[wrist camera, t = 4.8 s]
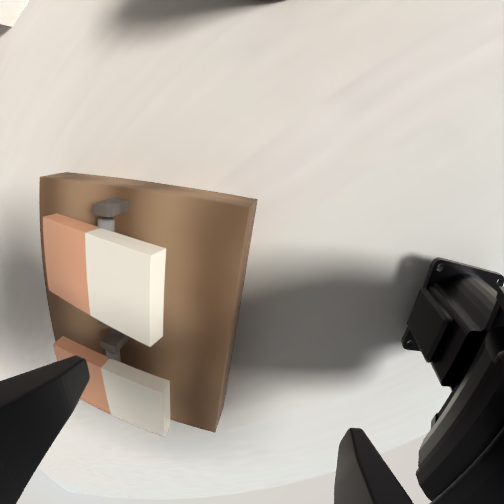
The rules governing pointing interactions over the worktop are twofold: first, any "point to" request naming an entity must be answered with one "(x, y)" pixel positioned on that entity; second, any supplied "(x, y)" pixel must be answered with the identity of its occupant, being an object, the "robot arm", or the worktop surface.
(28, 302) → the worktop surface
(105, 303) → the rocker
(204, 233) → the switch unit
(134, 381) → the block
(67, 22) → the worktop surface
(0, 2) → the white and black block
